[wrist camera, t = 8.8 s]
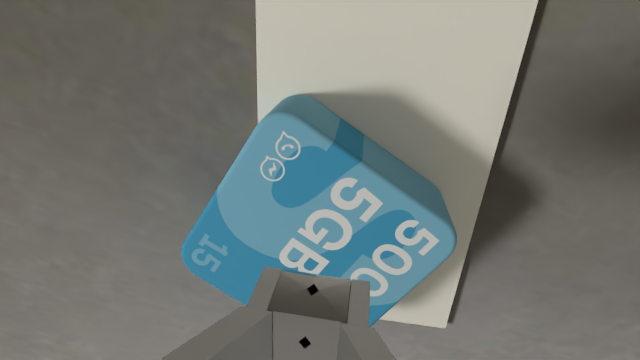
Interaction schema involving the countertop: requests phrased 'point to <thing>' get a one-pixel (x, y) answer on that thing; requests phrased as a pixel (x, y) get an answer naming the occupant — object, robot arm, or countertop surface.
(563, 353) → the countertop surface
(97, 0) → the countertop surface
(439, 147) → the mat
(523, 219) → the countertop surface
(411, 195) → the data package
